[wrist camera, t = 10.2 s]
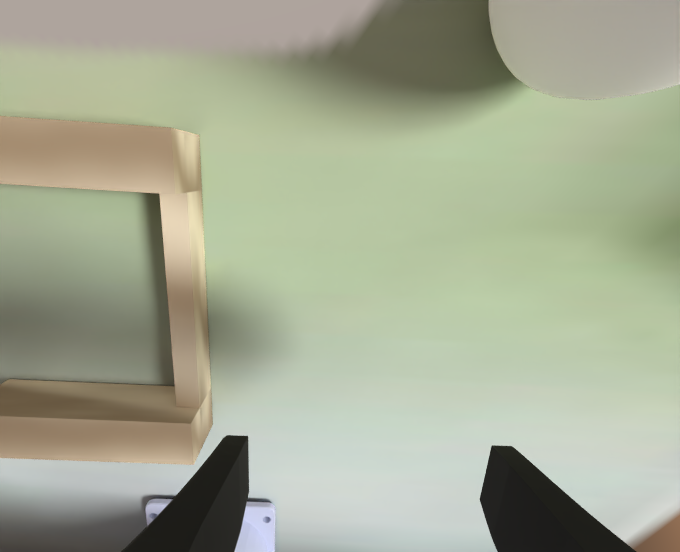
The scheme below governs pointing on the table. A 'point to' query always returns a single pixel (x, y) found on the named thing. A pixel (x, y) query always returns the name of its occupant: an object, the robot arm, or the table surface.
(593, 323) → the table surface
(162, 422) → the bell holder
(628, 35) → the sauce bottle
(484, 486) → the robot arm
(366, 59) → the table surface
